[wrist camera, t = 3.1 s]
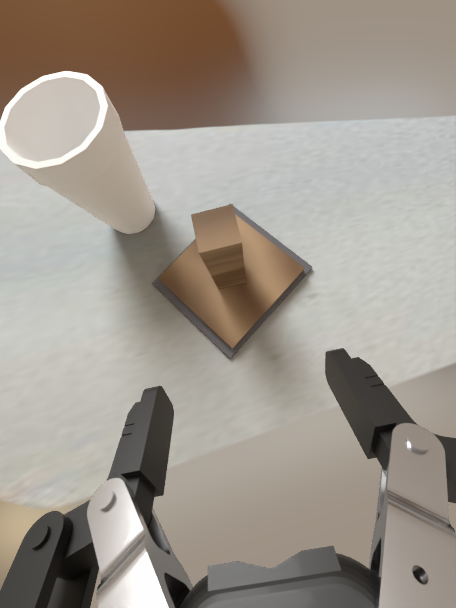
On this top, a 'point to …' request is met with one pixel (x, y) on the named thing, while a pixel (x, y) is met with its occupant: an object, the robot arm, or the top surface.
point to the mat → (231, 351)
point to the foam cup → (77, 148)
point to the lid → (229, 273)
